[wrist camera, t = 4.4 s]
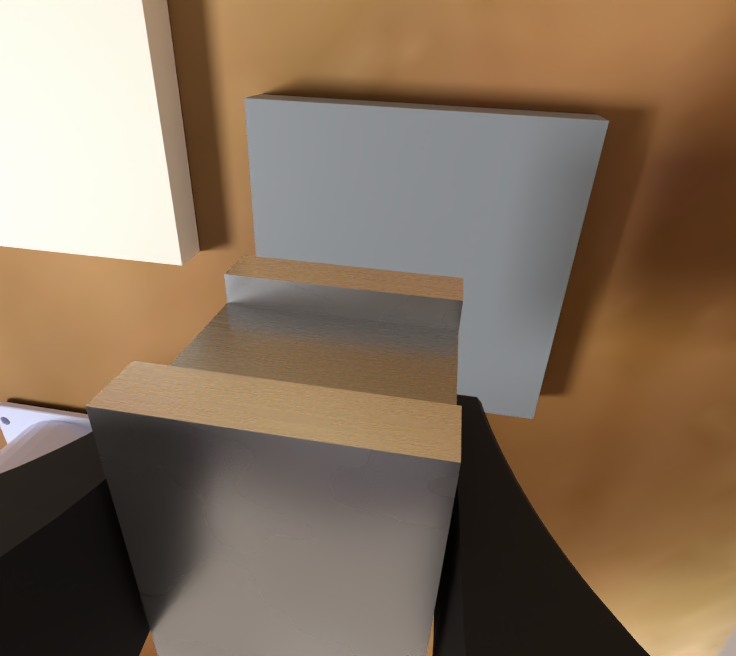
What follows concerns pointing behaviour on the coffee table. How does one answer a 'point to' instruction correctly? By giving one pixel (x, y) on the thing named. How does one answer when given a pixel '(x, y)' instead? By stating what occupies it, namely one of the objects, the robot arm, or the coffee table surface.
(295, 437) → the block
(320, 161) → the stand
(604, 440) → the coffee table surface
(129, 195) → the stand
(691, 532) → the coffee table surface
